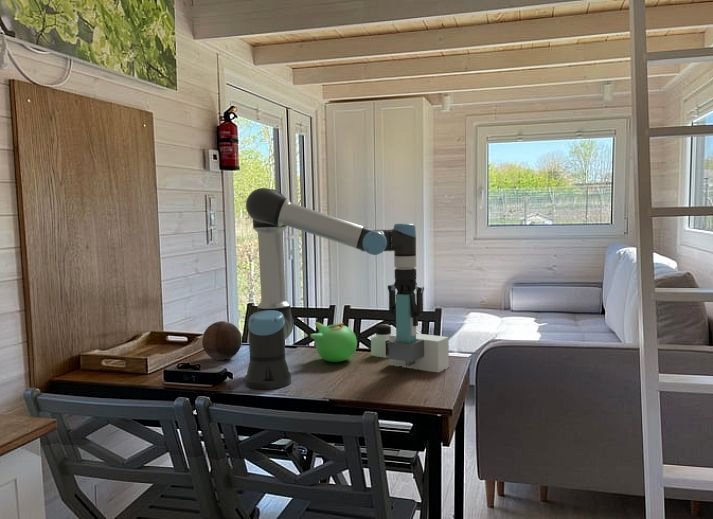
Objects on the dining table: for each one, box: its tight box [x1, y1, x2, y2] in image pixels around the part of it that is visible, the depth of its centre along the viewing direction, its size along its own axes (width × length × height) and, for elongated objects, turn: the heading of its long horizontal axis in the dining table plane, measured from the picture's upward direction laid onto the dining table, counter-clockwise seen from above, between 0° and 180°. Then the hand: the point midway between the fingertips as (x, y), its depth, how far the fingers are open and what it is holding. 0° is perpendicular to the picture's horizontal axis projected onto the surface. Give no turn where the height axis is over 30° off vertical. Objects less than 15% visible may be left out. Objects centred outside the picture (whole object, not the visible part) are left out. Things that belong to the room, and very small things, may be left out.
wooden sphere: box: [201, 320, 243, 361], centre depth 228 cm, size 15×15×15 cm
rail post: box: [395, 292, 417, 343], centre depth 204 cm, size 5×5×20 cm
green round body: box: [309, 321, 358, 363], centre depth 222 cm, size 18×17×15 cm
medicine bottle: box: [370, 323, 392, 359], centre depth 229 cm, size 7×7×12 cm
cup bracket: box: [388, 339, 424, 366], centre depth 205 cm, size 9×9×9 cm
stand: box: [388, 332, 450, 373], centre depth 212 cm, size 20×8×11 cm, turn 54°
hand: (406, 334), depth 204 cm, fingers closed on rail post, 5 cm apart
